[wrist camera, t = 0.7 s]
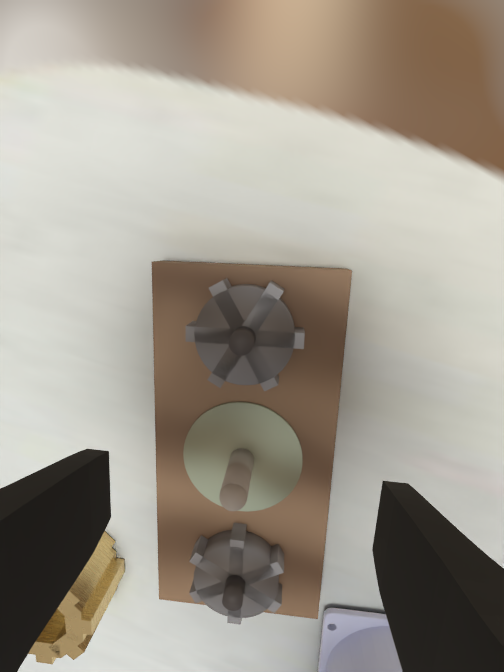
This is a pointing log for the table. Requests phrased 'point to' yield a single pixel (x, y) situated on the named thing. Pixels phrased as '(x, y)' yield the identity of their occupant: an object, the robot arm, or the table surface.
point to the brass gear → (81, 606)
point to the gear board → (246, 431)
